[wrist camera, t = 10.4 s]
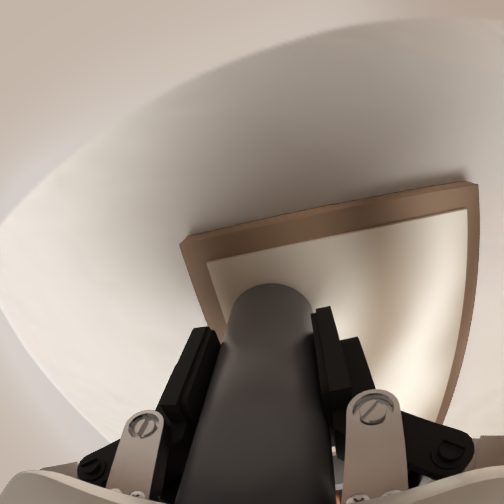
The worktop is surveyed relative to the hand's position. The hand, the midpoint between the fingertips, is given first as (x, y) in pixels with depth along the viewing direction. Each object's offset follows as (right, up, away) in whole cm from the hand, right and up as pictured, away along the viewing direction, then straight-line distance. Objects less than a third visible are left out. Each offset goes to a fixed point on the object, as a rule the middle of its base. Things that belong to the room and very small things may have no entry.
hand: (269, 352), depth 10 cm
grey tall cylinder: (0, +1, +2) cm, 2 cm away
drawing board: (+5, -3, +5) cm, 8 cm away
